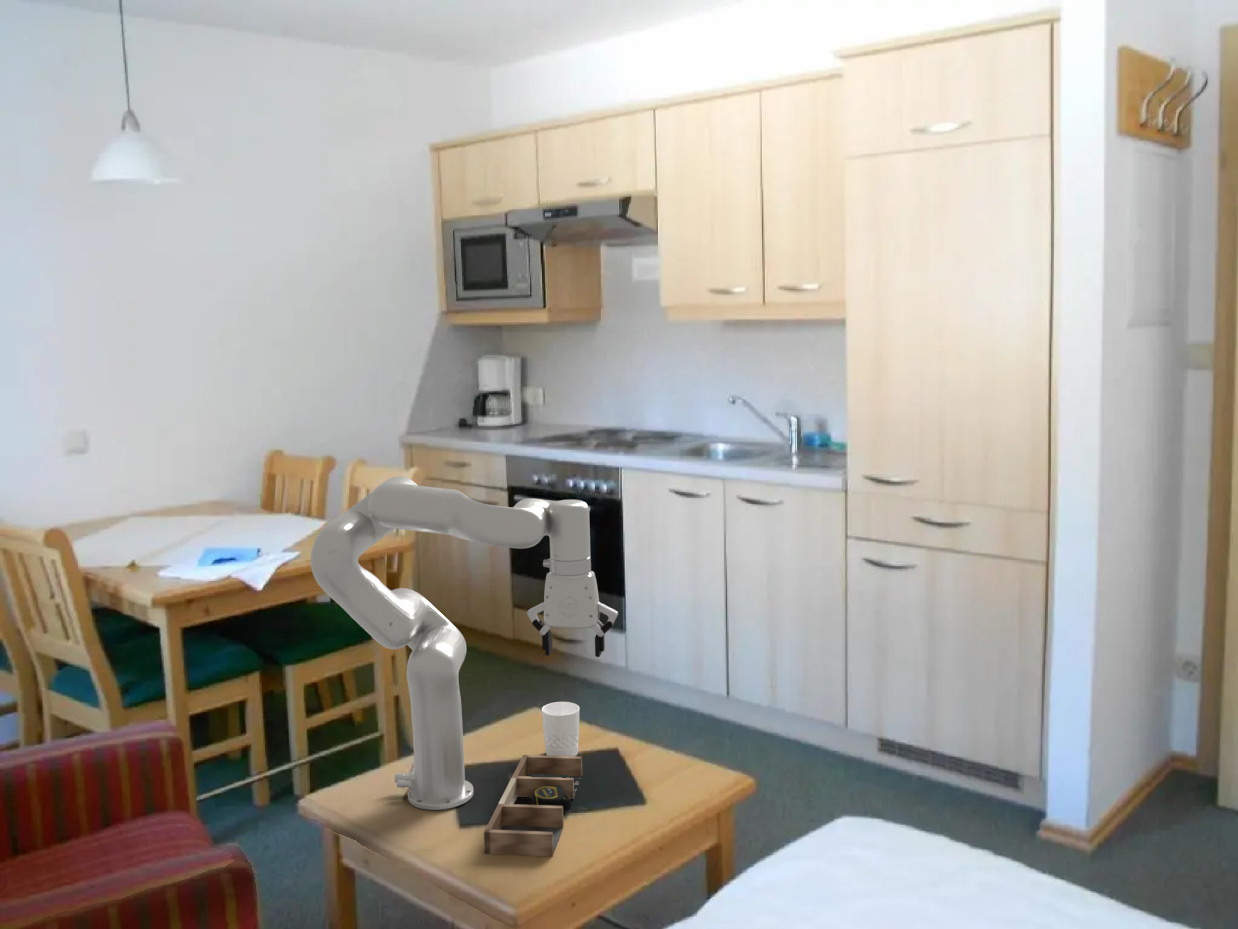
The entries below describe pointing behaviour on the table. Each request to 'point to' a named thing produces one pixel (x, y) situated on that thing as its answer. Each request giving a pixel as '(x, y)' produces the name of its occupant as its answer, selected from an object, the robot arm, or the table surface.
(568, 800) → the tape measure
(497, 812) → the wooden wall shelf
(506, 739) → the table surface
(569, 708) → the white cup
